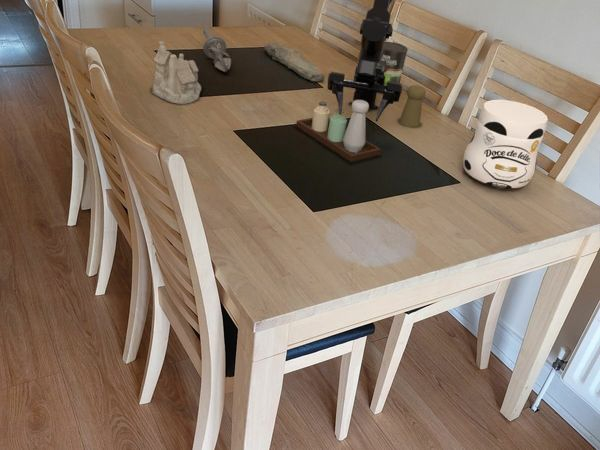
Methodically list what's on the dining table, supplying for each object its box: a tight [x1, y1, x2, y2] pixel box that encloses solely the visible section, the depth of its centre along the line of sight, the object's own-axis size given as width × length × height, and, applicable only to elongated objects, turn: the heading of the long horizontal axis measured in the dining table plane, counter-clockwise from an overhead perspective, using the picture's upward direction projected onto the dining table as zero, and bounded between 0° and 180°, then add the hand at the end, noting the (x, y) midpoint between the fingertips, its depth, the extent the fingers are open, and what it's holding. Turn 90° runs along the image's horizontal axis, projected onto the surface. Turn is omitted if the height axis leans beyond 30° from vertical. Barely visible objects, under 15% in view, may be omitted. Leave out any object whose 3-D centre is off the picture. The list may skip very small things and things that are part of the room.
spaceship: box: [202, 25, 232, 73], centre depth 202 cm, size 8×35×8 cm
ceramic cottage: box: [151, 40, 202, 105], centre depth 172 cm, size 16×16×15 cm
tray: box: [295, 117, 382, 163], centre depth 158 cm, size 10×23×2 cm, turn 37°
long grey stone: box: [263, 41, 325, 82], centre depth 207 cm, size 35×5×10 cm
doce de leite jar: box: [462, 99, 549, 191], centre depth 146 cm, size 17×17×18 cm
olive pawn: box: [399, 84, 426, 128], centre depth 173 cm, size 6×6×11 cm
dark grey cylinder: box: [379, 41, 409, 86], centre depth 195 cm, size 10×10×14 cm
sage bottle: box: [327, 108, 348, 142], centre depth 156 cm, size 4×4×8 cm
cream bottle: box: [311, 101, 331, 132], centre depth 161 cm, size 4×4×7 cm
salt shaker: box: [343, 100, 369, 153], centre depth 151 cm, size 6×6×13 cm
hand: (358, 117), depth 150 cm, fingers open, 9 cm apart
